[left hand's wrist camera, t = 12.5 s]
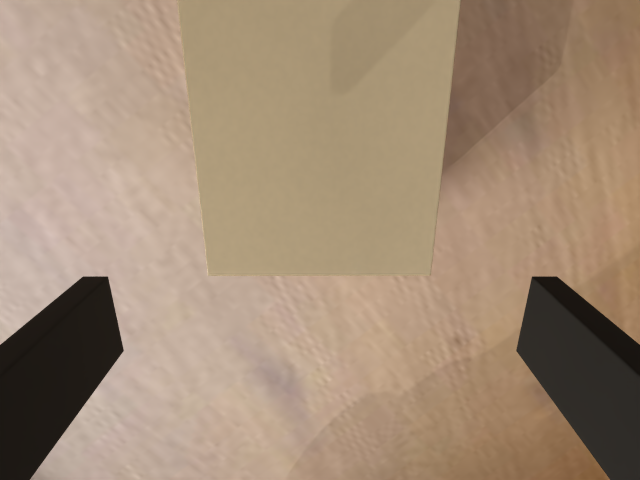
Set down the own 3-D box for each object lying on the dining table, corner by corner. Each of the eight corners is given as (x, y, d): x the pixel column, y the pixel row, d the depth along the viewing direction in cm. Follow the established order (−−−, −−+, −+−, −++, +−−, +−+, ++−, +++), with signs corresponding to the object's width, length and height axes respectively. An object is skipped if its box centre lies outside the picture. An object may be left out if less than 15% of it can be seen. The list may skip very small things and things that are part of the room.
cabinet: (221, -71, 24) (157, -169, 14) (417, -71, 24) (479, -169, 14) (242, 216, 30) (207, 276, 21) (396, 216, 30) (431, 276, 21)
